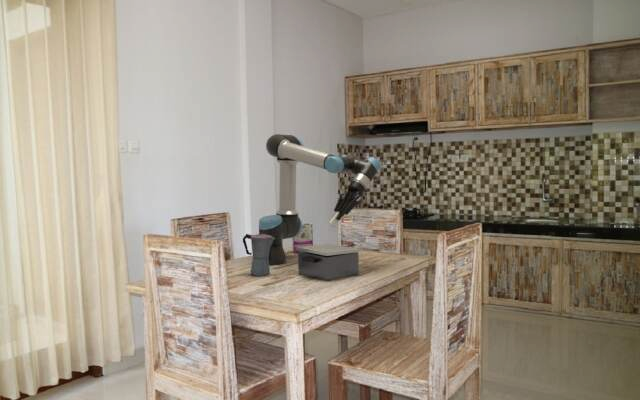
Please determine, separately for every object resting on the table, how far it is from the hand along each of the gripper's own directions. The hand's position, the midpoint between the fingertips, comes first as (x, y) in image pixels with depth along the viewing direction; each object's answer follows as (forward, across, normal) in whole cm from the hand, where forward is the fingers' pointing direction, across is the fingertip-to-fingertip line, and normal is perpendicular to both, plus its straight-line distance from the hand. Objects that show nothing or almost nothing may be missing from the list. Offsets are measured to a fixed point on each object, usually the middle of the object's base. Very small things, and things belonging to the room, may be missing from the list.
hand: (331, 224), depth 217 cm
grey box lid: (+10, +1, -7) cm, 12 cm away
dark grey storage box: (+18, +1, -13) cm, 22 cm away
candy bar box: (-2, +56, -34) cm, 66 cm away
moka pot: (+33, +22, +2) cm, 40 cm away
